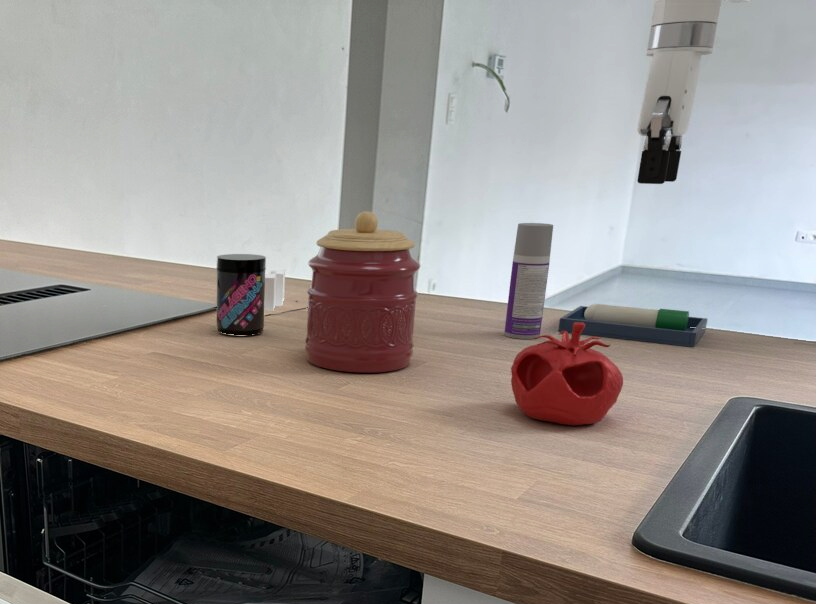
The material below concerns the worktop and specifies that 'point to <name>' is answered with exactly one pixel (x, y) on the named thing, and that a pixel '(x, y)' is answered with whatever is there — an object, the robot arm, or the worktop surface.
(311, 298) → the kitchen canister
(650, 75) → the robot arm
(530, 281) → the container
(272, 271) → the napkin holder
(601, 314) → the marker
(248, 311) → the supplement container
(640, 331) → the pen tray
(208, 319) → the worktop surface
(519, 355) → the red hollow tomato
